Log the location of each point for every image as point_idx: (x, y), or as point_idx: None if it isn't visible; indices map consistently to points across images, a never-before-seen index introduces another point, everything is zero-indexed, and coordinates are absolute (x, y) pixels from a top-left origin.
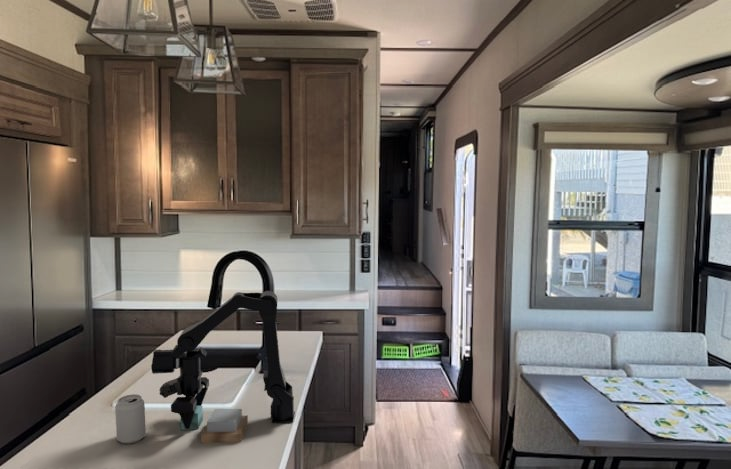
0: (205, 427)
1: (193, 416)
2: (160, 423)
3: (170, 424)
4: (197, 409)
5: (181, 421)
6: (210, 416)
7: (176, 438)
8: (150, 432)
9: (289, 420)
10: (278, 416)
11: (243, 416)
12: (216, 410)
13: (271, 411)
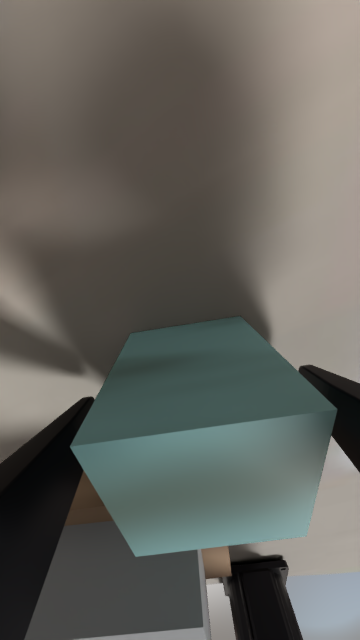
0: (86, 509)
1: (42, 570)
2: (199, 89)
3: (188, 218)
4: (214, 535)
5: (112, 372)
6: (78, 638)
7: (24, 354)
8: (7, 74)
9: (228, 593)
10: (233, 604)
11: (221, 571)
12: (180, 634)
13: (250, 618)
